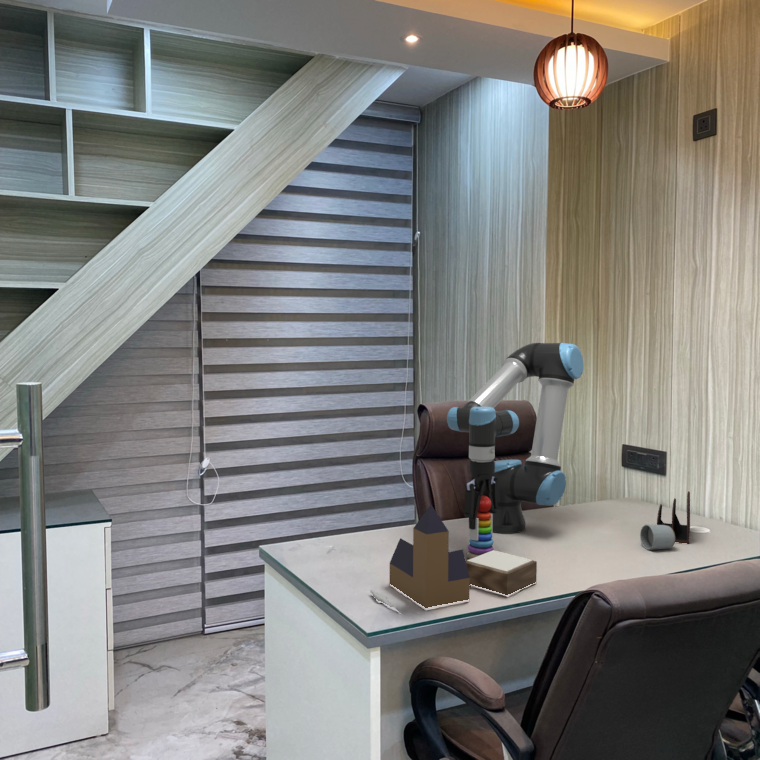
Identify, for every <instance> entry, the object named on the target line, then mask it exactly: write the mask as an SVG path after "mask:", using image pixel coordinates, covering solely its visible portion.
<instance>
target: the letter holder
mask: <svg viewBox="0 0 760 760" xmlns="http://www.w3.org/2000/svg"><path fill="white" fill-rule="evenodd" d="M686 493H687V495H686V524H681V523H680V519H679V518H678V516H677V513H676V511H677V505H676V504H677V498H674V499H673V500H672V501H673V502H672V508H671V509H672V510H671V523H666V522H663V520H662V514H663V513H662V511H663V510H662V509H663V505H662V504H661V503H660V504H659V507H658V512H657V518H656V525H666V526H669V527H671V528H672V529H673V531H674V533H675V542H679V543H678V544H682V543H687V544H686V545H689V544H690V533H691V491H687V492H686Z"/></svg>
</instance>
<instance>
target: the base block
mask: <svg viewBox="0 0 760 760" xmlns="http://www.w3.org/2000/svg"><path fill="white" fill-rule="evenodd" d="M465 561H466V565H467V569H468V573H469V577H470V584H472V585H475V586H478V587H482V588H486V589H489V590H492V591H496V592H499V593H502V594H505V595H508V594H511V593H513V592H515V591H517V590H519V589H522V588H524V587H526V586H528V585H530V584H533V583H535V582H536V583H537V568H538V567H537V565H538V564H537V563H538V561H536V560H532V559H529V558H526V557H522V556H519V555H513V554H510V553H506V552H502V551H499V550H494V549H493V550H492V551H490V552H487V553H484V554H482V555H479V556H477V557H474V558H472V559H470V558H468V559H467V560H466V559H465Z"/></svg>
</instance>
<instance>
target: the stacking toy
mask: <svg viewBox="0 0 760 760" xmlns="http://www.w3.org/2000/svg"><path fill="white" fill-rule="evenodd" d="M490 508H491V500H490V499H489V498H488V497H487V496H484V495H482V496H481V498H480V503H479V508H478V513H477V518H479V532H478V541H475V540H471V539H469V540H468V541H469V544H468V546H467V550H468V551H467V553H466V556H467V558H468V559H472V558H474V557H477V556H479V555H482V554H484V553H487V552H490V551H492V550H494V546H493V545H494V540H493V533H491V531H492V527H491V526H490V525H491V520H490V518H491V514H490V513H489V512H488V511H489V510H490Z"/></svg>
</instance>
